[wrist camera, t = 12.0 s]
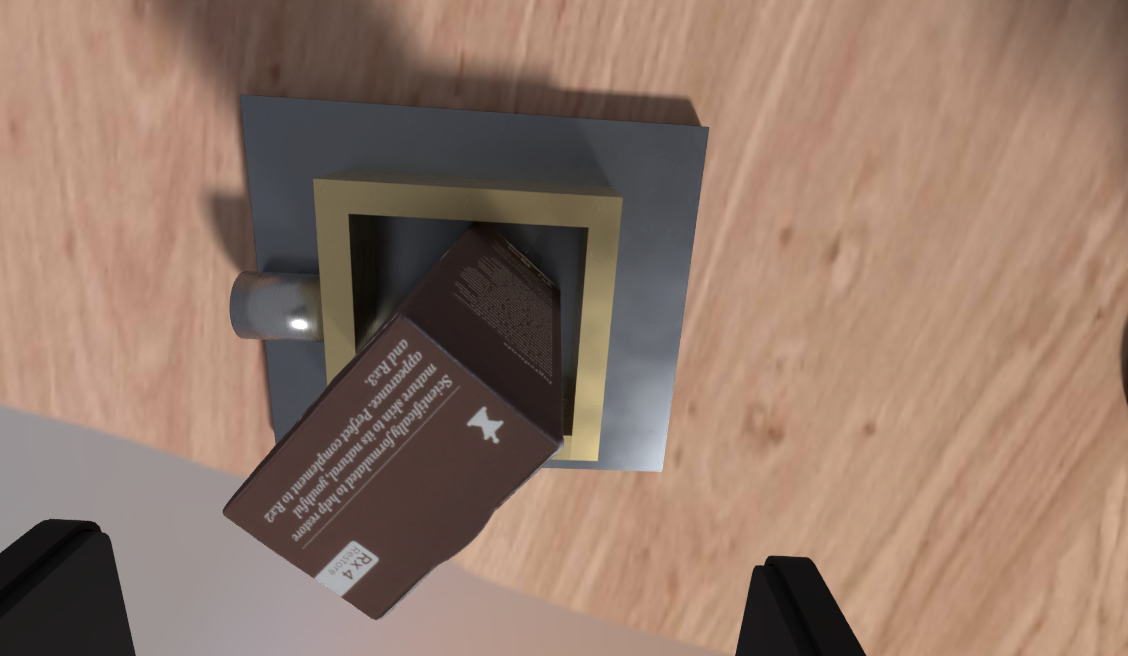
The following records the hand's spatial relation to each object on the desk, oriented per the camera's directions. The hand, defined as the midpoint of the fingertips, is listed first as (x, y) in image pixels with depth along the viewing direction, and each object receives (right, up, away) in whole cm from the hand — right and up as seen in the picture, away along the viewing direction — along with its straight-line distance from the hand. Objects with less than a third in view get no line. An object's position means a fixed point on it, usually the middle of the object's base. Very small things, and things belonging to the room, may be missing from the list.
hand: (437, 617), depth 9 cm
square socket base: (-1, +5, +15) cm, 16 cm away
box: (-2, +5, +14) cm, 15 cm away
